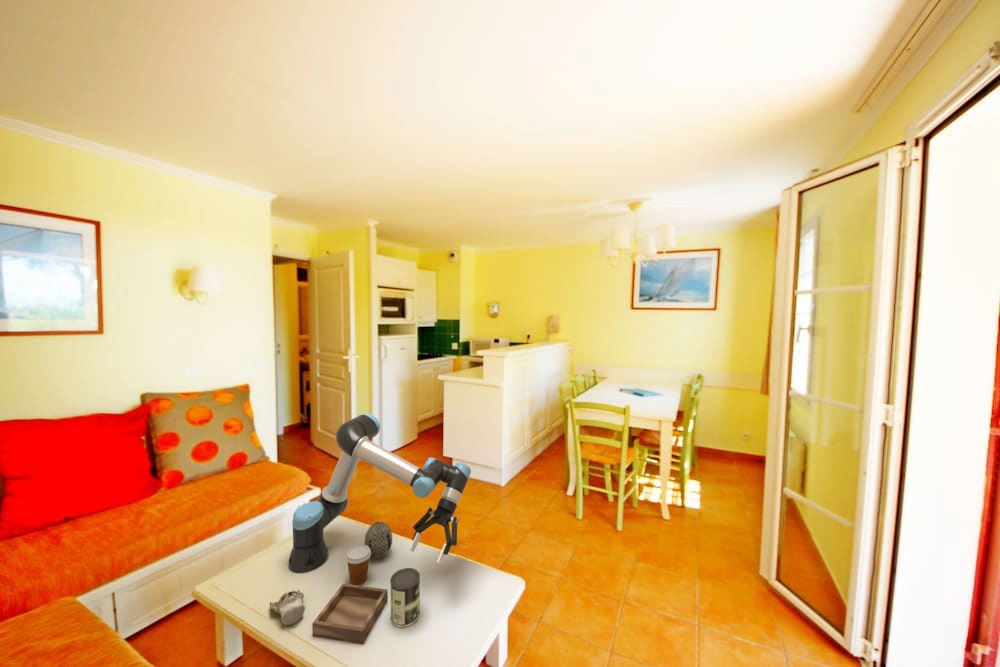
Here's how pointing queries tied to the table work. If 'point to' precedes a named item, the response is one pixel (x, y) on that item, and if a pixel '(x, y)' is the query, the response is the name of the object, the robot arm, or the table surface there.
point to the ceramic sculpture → (289, 607)
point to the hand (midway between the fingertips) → (424, 557)
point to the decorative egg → (378, 539)
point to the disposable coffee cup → (358, 563)
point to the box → (350, 613)
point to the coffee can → (405, 597)
